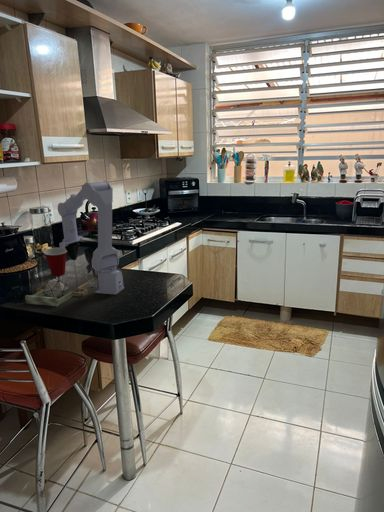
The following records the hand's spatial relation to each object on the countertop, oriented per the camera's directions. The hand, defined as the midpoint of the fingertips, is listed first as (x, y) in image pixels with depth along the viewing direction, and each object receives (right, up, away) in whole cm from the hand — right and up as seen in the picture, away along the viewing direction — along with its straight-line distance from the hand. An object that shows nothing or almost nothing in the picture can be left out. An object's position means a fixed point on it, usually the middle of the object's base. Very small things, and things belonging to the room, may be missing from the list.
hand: (73, 259), depth 168 cm
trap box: (-1, -14, -15) cm, 21 cm away
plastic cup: (-11, -7, +11) cm, 17 cm away
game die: (-1, -15, -19) cm, 24 cm away
